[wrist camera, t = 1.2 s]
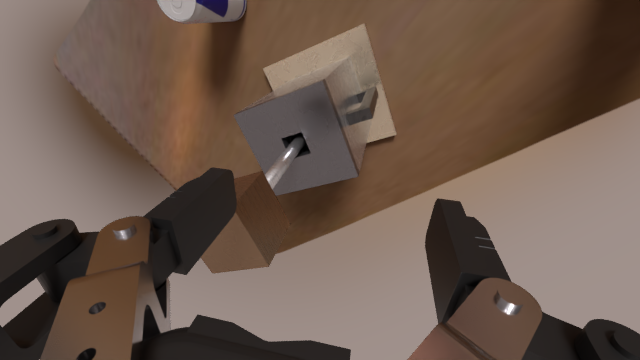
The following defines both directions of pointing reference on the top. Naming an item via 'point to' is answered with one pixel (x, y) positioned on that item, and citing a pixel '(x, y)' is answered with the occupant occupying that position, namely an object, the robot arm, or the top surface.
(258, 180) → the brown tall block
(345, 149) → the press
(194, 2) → the energy drink
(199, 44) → the top surface
